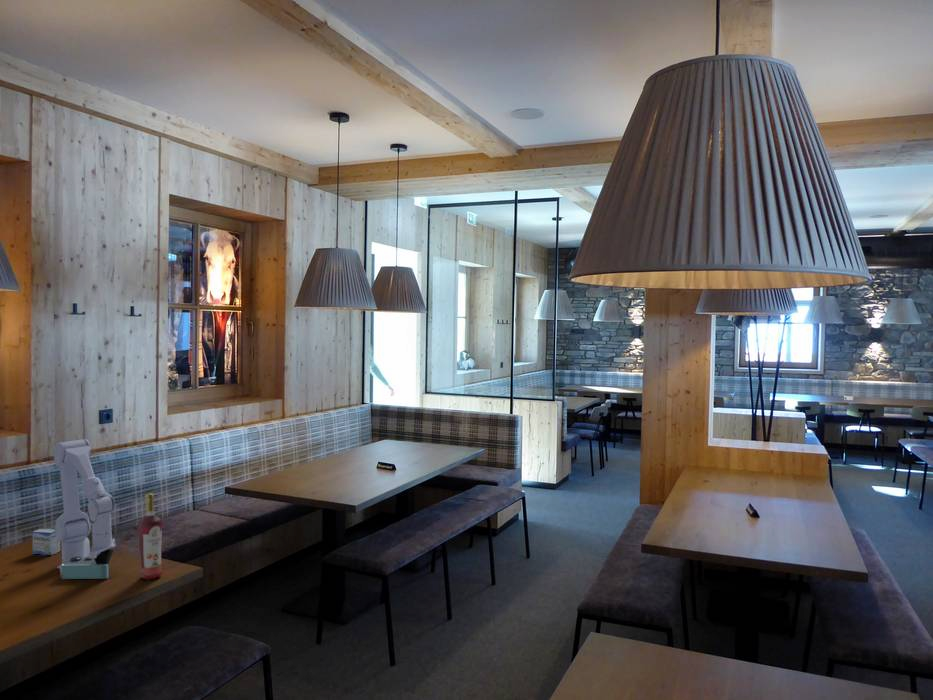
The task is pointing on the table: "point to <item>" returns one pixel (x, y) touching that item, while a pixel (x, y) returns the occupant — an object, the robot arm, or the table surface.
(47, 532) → the medicine box
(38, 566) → the table surface
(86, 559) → the camera case
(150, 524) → the liquor
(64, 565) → the side door
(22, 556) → the table surface
